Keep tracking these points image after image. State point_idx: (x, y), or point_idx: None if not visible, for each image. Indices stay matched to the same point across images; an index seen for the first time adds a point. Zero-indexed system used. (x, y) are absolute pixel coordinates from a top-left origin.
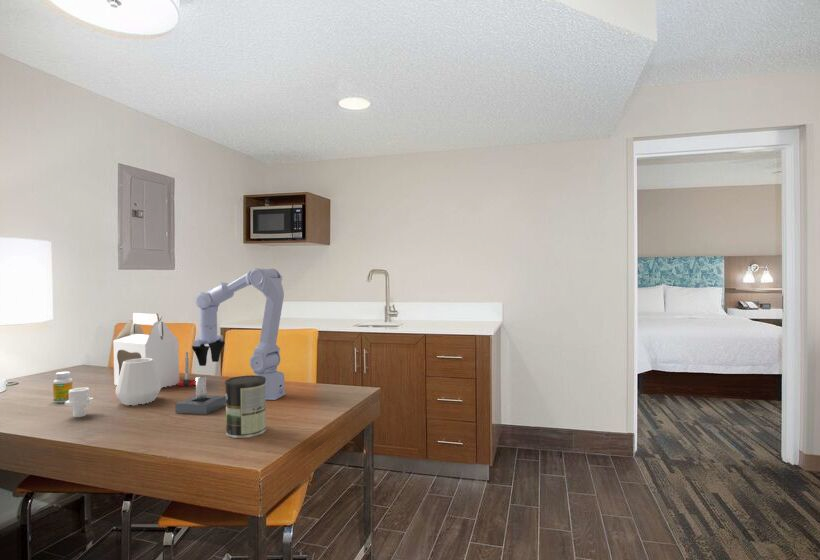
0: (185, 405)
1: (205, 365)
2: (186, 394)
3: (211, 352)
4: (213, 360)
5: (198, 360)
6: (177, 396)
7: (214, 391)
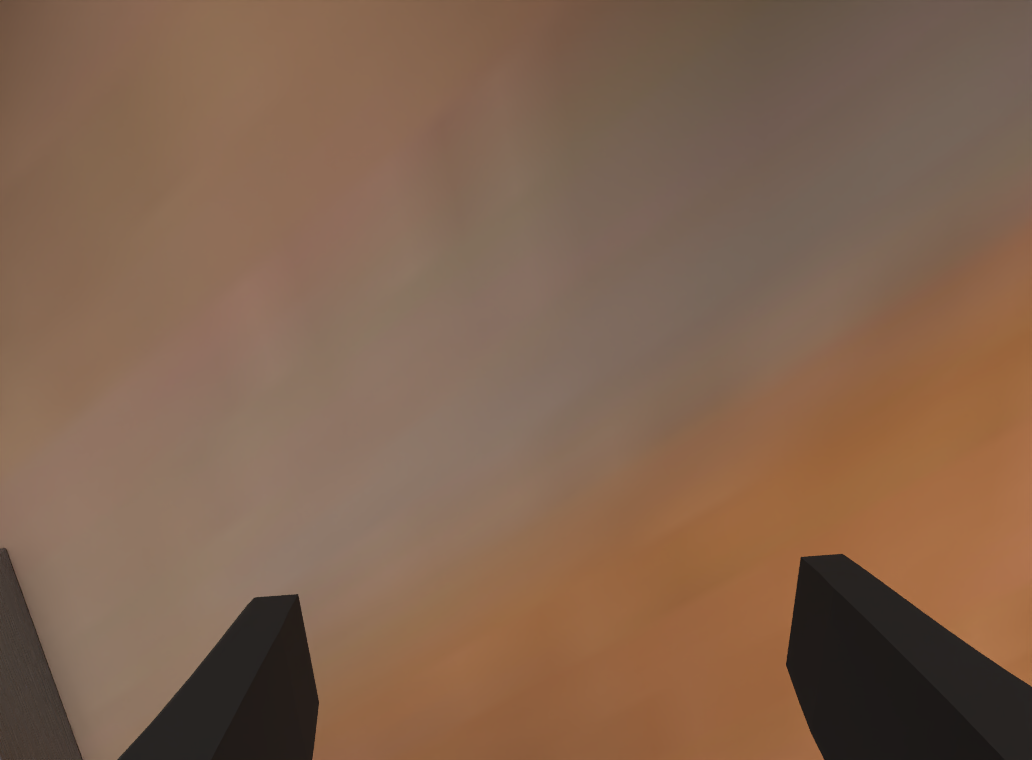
0: None
1: (308, 704)
2: (352, 74)
3: (952, 728)
4: (809, 604)
5: (181, 699)
6: (206, 14)
7: (590, 363)
